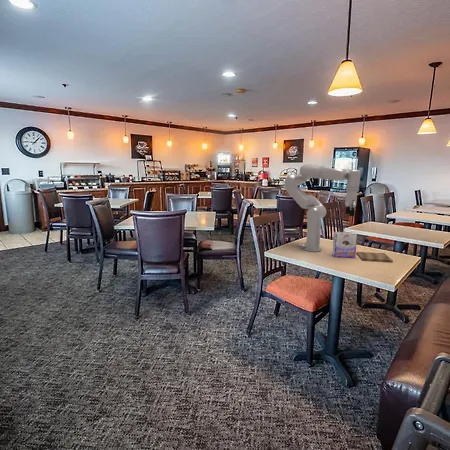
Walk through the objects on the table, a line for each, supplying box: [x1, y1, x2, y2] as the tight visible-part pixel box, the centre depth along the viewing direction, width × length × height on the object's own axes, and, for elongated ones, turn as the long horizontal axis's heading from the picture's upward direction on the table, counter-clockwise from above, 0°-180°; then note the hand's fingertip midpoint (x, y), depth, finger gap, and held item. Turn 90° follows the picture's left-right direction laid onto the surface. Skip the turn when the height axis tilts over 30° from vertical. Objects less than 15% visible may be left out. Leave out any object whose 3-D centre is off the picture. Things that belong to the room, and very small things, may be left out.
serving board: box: [356, 251, 393, 263], centre depth 198 cm, size 18×16×2 cm
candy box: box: [331, 231, 358, 258], centre depth 200 cm, size 14×6×16 cm, turn 84°
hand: (349, 214), depth 197 cm, fingers open, 9 cm apart
